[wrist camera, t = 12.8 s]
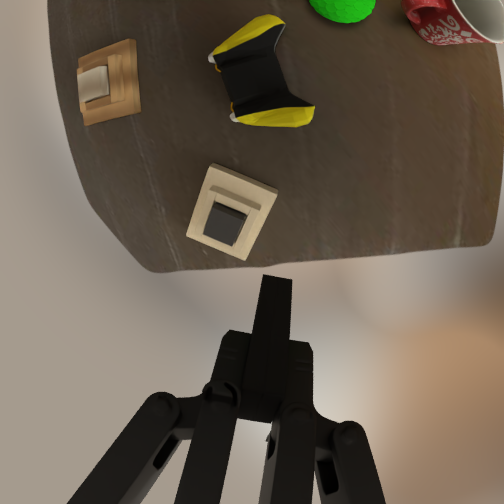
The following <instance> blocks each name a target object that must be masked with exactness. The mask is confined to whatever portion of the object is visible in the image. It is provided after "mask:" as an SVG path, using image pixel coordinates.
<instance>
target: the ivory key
mask: <svg viewBox="0 0 504 504" xmlns="http://www.w3.org/2000/svg"><path fill="white" fill-rule="evenodd" d="M77 79H78V91H79V102H80V103H81V102H86V101H90V100H93V99H96V98H99V97H102V96H105V95H108V94H110V84H109V71H108V66H99V67H96V68H93V69H91V70H89V71H86V72H84V73H81V74H79V75H77Z"/></svg>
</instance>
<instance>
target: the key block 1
mask: <svg viewBox="0 0 504 504" xmlns="http://www.w3.org/2000/svg"><path fill="white" fill-rule="evenodd" d="M78 61H79V69H77V75H79V74H81V73H84V72H86V71H89V70H91V69H93V68H96V67H99V66H108V71H109V84H110V94H108V95H105V96H102V97H99V98H96V99H93V100H90V101H86V102H81V103H80V110H81V112H83V119H84V126H88V125H91V124H95V123H98V122H102V121H106V120H110V119H114V118H118V117H122V116H126V115H131V114H135V113H140V112H141V104H140V93H139V82H138V68H137V50H136V40H134V39H126V40H123V41H120V42H118V43H115V44H112V45H110V46H107V47H105V48H102V49H100V50H97V51H95V52H92V53H90V54H88V55H86V56H83V57H81V58H79V59H78Z"/></svg>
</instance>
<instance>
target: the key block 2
mask: <svg viewBox="0 0 504 504" xmlns="http://www.w3.org/2000/svg"><path fill="white" fill-rule="evenodd" d="M277 195H278V190H277V189H275V188H272V187H270V186H268V185H266V184H263V183H261V182H259V181H257V180H254V179H252V178H250V177H247V176H245V175H242V174H240V173H238V172H235V171H233V170H230V169H228V168H225V167H223V166H221V165H218V164H216V163H212V164H211V165H210V166H209V169H208V171H207V174H206V177H205V180H204V183H203V186H202V188H201V191H200V194H199V197H198V200H197V203H196V206H195V209H194V212H193V215H192V218H191V222H190V225H189V228H188V231H187V234H186V236H188V237H190V238H192V239H195V240H197V241H199V242H202V243H204V244H206V245H209V246H211V247H214V248H216V249H218V250H221V251H223V252H225V253H228V254H230V255H232V256H235V257H237V258H240V259H242V260H244V261H245V260H246V258H247V256H248V254H249V252H250V250H251V248H252V246H253V244H254V242H255V240H256V238H257V236H258V234H259V232H260V230H261V228H262V225H263V223H264V221H265V219H266V217H267V215H268V213H269V211H270V209H271V207H272V205H273V203H274V201H275V199H276V197H277ZM216 202H218V203H221V204H223V205H225V206H228V207H230V208H232V209H235V210H237V211H239V212H242V213H244V214H246V216H245V219H244V221H243V224H242V226H241V228H240V230H239V233H238V235H237V237H236V239H235V242H234V244H233V246H232V247H231V246H229V245H226V244H224V243H222V242H219V241H217V240H215V239H212V238H210V237H208V236H205V235H203V232H204V229H205V226H206V223H207V221H208V218H209V215H210V212H211V210H212V207H213V206H214V204H215V203H216Z"/></svg>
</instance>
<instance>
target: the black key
mask: <svg viewBox="0 0 504 504" xmlns="http://www.w3.org/2000/svg"><path fill="white" fill-rule="evenodd" d="M245 216H246V214H244V213H242V212H239V211H237V210H235V209H232V208H230V207H228V206H225V205H223V204H221V203H218V202H216V203H215V204H214V206H213V207H212V210H211V212H210V215H209V218H208V221H207V223H206V226H205V229H204V232H203V235H205V236H208V237H210V238H212V239H215V240H217V241H219V242H222V243H224V244H226V245H229V246H231V247H232V246H233V244H234V242H235V239H236V237H237V235H238V233H239V230H240V228H241V226H242V224H243V221H244V219H245Z"/></svg>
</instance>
